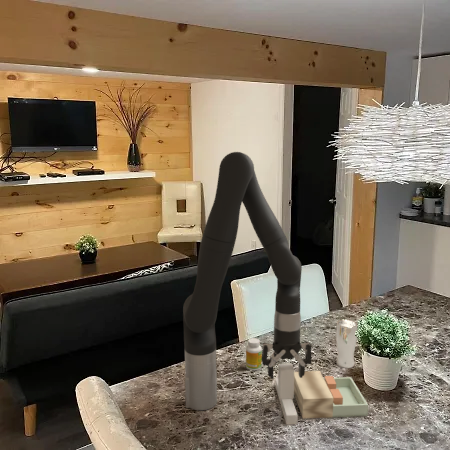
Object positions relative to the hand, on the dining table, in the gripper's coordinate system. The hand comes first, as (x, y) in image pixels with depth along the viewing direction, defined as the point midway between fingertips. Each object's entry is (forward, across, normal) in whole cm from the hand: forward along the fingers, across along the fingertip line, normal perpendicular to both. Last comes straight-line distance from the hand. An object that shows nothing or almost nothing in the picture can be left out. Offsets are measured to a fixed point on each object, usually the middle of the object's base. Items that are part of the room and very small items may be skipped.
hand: (285, 376), depth 133 cm
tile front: (+6, -13, +3) cm, 15 cm away
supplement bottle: (+9, +7, -23) cm, 25 cm away
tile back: (+6, -13, -4) cm, 15 cm away
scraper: (+9, 0, 0) cm, 9 cm away
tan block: (+9, -8, 0) cm, 12 cm away
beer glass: (+9, -25, -23) cm, 35 cm away
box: (+9, -17, 0) cm, 19 cm away
